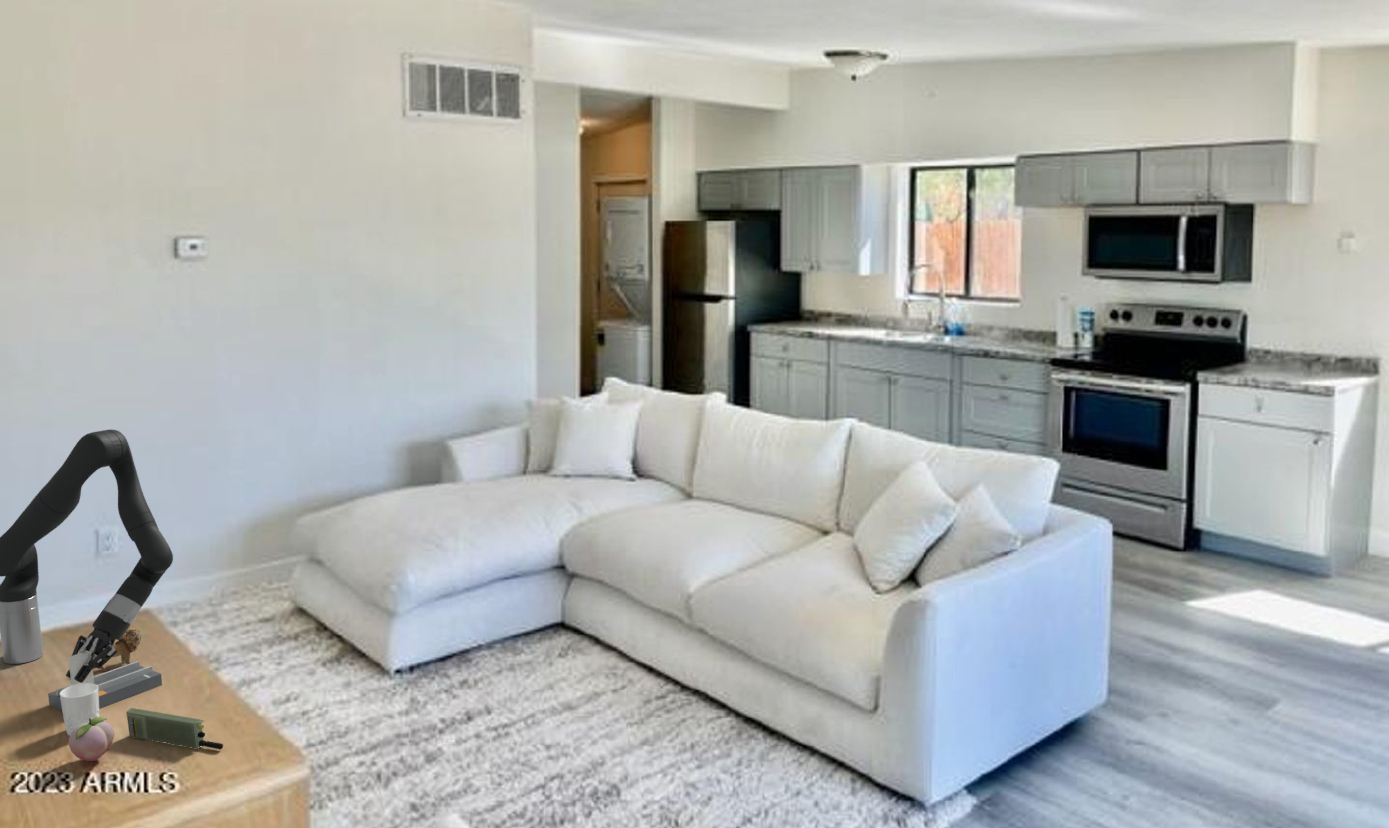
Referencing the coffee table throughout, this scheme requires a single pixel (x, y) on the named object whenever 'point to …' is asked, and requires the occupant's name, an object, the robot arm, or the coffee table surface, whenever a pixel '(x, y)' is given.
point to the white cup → (79, 704)
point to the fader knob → (76, 665)
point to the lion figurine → (126, 645)
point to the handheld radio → (167, 728)
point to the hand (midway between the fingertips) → (73, 679)
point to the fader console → (118, 684)
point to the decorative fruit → (91, 739)
